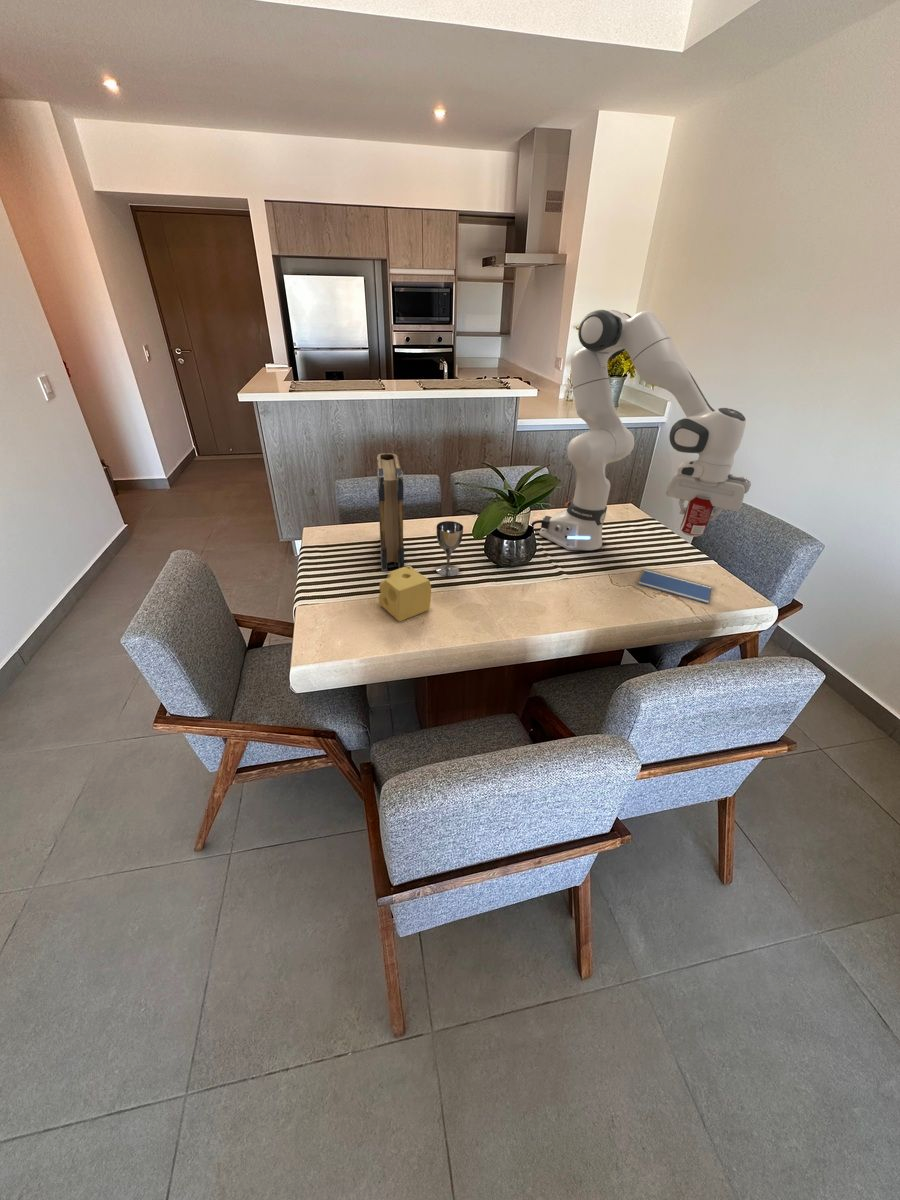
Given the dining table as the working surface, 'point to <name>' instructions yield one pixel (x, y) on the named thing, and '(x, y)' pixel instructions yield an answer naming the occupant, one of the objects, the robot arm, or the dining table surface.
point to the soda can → (696, 516)
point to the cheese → (405, 593)
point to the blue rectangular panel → (675, 586)
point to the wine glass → (449, 544)
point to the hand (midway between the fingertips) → (696, 516)
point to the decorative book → (390, 509)
